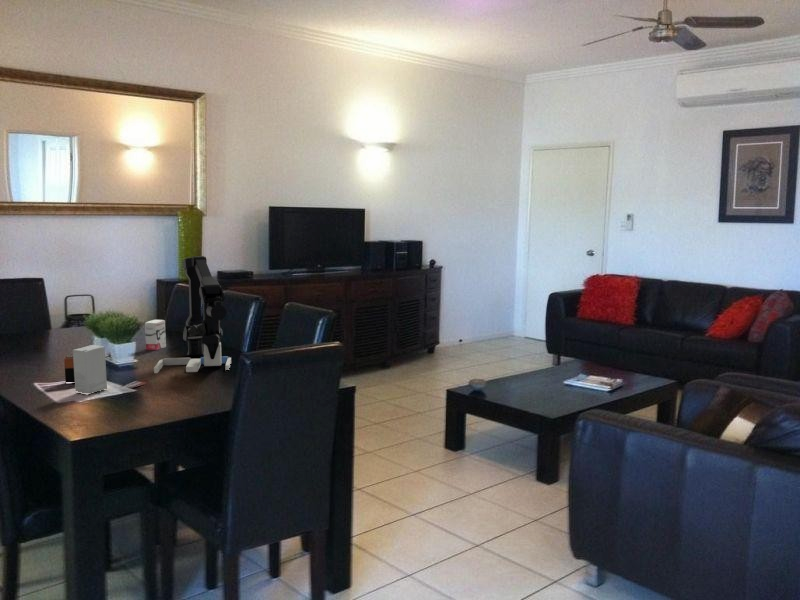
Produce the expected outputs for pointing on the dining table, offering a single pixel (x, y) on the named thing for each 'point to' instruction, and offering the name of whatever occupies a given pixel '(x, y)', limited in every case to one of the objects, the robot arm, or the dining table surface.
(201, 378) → the dining table surface
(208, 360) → the plug block
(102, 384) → the skincare box
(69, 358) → the battery
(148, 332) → the ink box
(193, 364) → the duct rack
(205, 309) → the robot arm
